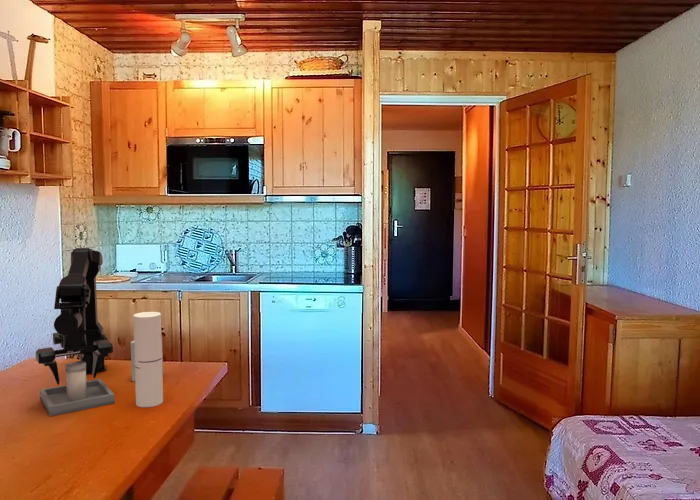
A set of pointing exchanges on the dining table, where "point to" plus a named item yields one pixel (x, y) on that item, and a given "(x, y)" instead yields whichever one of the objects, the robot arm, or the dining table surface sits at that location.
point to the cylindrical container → (148, 359)
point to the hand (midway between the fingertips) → (76, 381)
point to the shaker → (76, 380)
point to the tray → (59, 404)
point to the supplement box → (134, 361)
